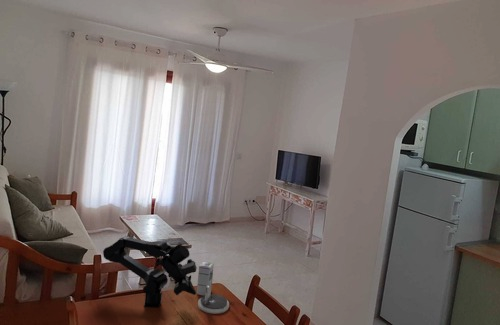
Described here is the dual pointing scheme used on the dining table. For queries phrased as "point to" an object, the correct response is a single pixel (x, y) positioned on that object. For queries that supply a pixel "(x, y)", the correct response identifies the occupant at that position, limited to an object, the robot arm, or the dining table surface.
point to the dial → (213, 300)
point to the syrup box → (204, 277)
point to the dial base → (212, 311)
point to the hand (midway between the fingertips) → (195, 293)
